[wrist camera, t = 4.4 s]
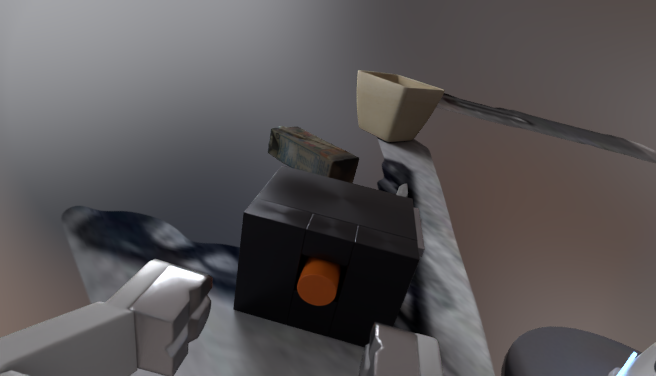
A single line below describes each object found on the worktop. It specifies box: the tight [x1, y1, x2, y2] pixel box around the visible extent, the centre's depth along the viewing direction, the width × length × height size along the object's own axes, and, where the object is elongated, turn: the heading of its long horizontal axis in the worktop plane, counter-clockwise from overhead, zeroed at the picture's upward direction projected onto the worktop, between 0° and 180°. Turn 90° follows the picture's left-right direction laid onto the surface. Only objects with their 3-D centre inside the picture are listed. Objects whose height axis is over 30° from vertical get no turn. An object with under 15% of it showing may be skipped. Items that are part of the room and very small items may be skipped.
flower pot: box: [357, 70, 445, 142], centre depth 104 cm, size 19×19×17 cm
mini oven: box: [234, 166, 425, 347], centre depth 38 cm, size 17×12×12 cm
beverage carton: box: [268, 126, 359, 183], centre depth 71 cm, size 8×19×7 cm, turn 45°
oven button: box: [297, 257, 341, 306], centre depth 32 cm, size 4×3×4 cm
